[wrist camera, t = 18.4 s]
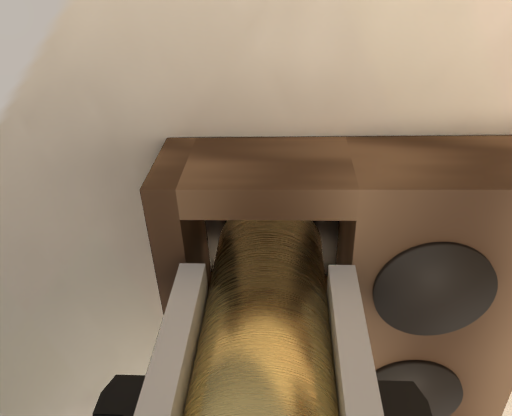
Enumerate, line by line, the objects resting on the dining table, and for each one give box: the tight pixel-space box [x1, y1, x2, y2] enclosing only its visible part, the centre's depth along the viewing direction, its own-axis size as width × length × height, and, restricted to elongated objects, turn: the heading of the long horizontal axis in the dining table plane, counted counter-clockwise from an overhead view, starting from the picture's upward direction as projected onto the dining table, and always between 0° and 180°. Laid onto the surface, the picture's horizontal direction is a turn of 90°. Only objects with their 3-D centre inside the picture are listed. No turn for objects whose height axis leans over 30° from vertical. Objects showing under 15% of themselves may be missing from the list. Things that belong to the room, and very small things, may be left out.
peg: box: [183, 220, 339, 416], centre depth 11 cm, size 4×4×12 cm
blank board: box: [140, 135, 512, 416], centre depth 17 cm, size 12×12×4 cm
